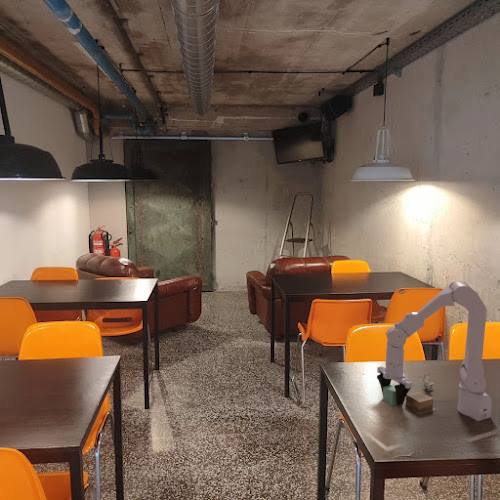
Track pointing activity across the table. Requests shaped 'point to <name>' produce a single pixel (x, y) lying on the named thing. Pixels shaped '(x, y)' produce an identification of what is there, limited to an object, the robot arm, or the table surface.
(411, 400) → the walnut base block
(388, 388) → the teal block
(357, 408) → the table surface
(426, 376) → the soldier figure
